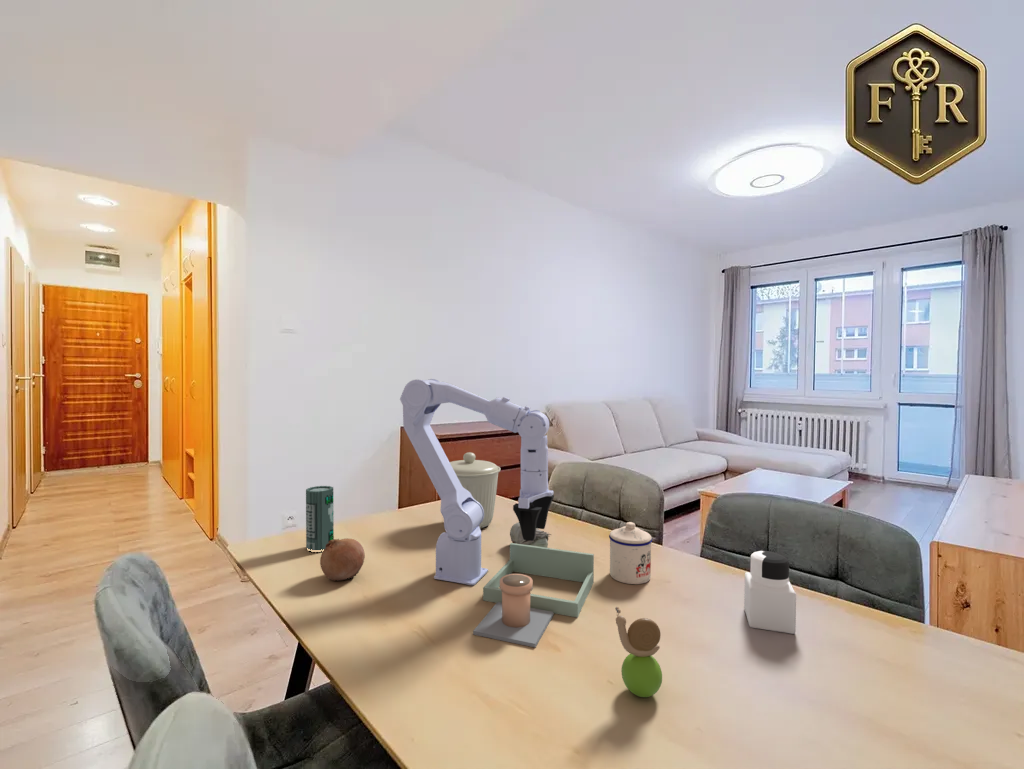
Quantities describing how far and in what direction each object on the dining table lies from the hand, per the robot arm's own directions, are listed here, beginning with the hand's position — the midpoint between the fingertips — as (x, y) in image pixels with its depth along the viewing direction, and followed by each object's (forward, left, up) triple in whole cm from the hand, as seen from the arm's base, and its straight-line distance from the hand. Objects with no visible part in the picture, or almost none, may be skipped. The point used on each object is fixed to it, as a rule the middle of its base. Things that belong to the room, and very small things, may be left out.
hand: (534, 533), depth 100 cm
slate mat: (+2, -17, -10) cm, 20 cm away
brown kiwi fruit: (-39, -12, -11) cm, 42 cm away
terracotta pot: (+2, -17, -10) cm, 19 cm away
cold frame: (+2, -3, -10) cm, 11 cm away
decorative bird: (-6, +14, -11) cm, 19 cm away
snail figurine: (+24, -28, -11) cm, 38 cm away
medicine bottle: (+44, 0, -11) cm, 45 cm away
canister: (-29, +30, -11) cm, 43 cm away
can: (-56, 0, -11) cm, 57 cm away
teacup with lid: (+19, +12, -11) cm, 25 cm away
